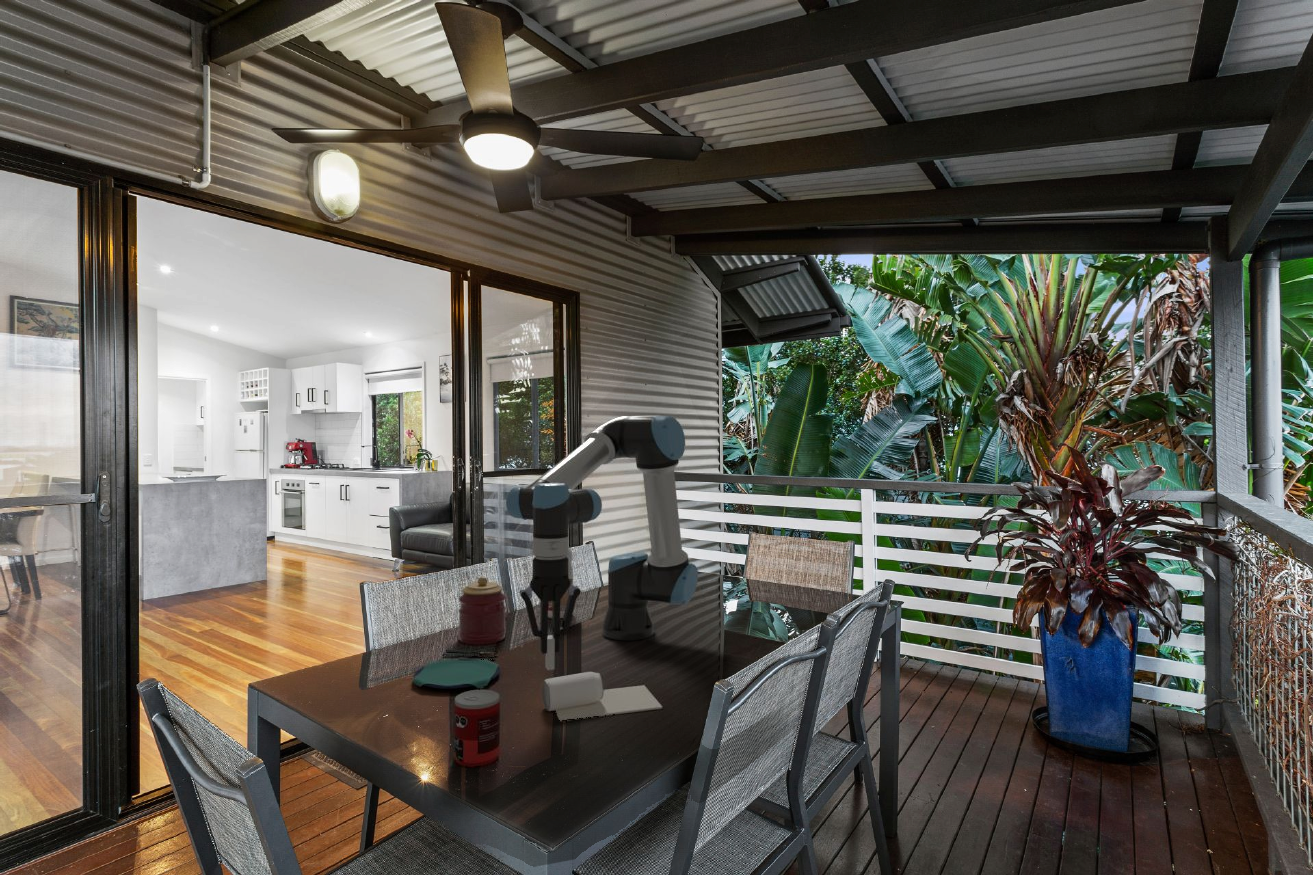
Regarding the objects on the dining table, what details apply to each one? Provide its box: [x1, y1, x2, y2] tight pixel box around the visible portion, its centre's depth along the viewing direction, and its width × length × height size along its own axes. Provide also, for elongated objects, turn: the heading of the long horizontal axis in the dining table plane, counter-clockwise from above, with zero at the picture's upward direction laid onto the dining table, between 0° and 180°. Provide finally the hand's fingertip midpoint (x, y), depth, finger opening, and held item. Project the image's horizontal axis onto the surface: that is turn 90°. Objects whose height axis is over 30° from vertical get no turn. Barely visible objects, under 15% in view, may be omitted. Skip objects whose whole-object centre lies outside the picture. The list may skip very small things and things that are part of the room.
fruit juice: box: [548, 546, 574, 619], centre depth 220 cm, size 9×9×28 cm
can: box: [541, 671, 605, 712], centre depth 147 cm, size 6×6×12 cm
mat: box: [554, 684, 663, 722], centre depth 149 cm, size 13×22×1 cm, turn 108°
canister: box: [458, 576, 507, 646], centre depth 194 cm, size 13×13×18 cm
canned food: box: [453, 689, 501, 768], centre depth 123 cm, size 8×8×11 cm
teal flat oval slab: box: [412, 648, 501, 690], centre depth 168 cm, size 20×30×2 cm, turn 2°
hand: (549, 667), depth 145 cm, fingers closed
